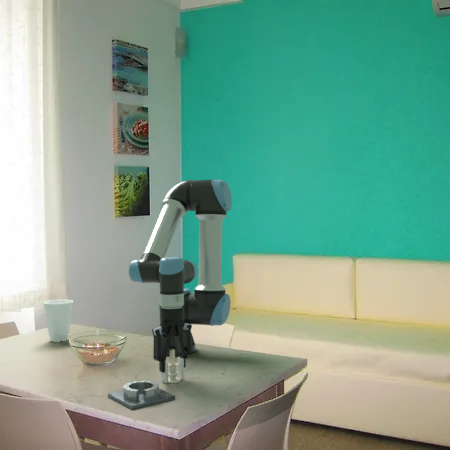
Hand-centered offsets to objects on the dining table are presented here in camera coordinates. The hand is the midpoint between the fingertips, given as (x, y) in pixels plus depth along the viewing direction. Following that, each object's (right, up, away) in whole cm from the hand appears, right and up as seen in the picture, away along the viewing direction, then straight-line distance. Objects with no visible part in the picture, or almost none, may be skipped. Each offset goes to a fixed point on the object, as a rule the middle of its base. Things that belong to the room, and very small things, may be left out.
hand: (172, 380), depth 189 cm
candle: (0, 0, 0) cm, 1 cm away
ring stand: (-8, -1, -16) cm, 18 cm away
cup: (-52, +1, +58) cm, 78 cm away
